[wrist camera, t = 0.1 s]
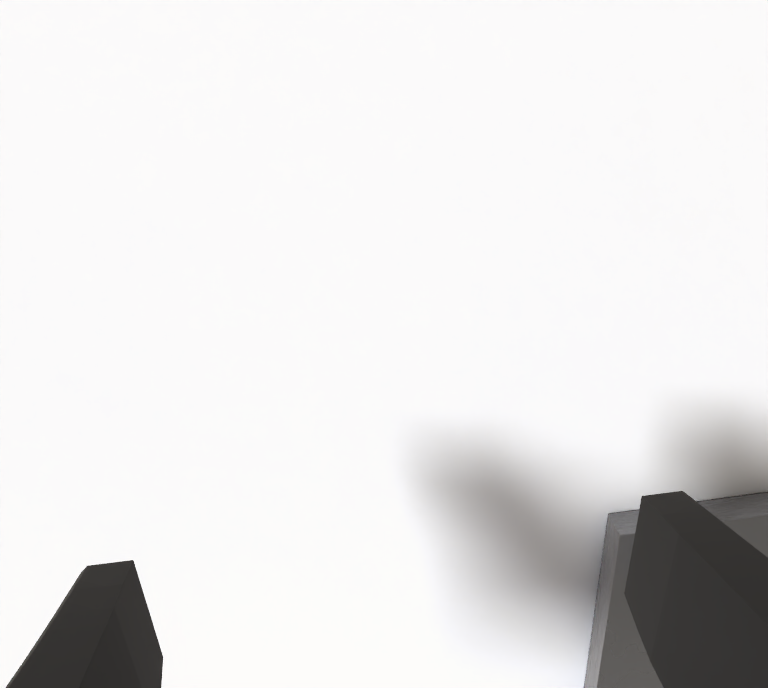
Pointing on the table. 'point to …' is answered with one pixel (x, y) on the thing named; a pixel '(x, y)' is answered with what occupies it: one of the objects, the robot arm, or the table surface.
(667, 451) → the table surface
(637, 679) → the plate
